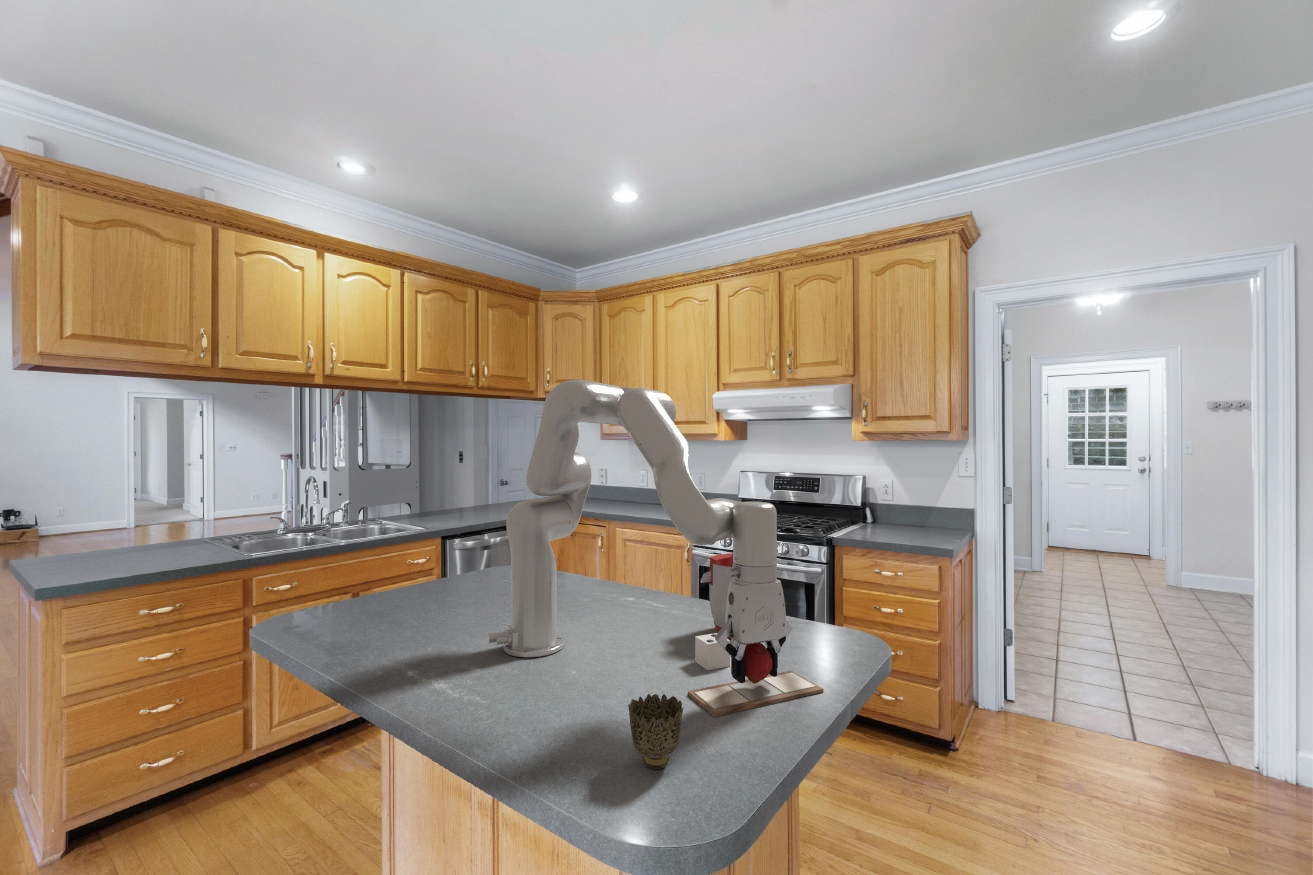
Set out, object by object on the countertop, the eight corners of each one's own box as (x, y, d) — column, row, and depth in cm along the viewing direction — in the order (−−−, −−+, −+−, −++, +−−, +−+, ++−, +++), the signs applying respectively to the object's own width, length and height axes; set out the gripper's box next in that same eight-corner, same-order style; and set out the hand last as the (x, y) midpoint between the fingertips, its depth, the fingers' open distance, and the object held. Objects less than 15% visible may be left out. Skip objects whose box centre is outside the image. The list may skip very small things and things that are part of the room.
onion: (775, 679, 102) (775, 634, 102) (767, 692, 96) (767, 644, 96) (743, 674, 104) (743, 629, 104) (733, 686, 99) (734, 639, 99)
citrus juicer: (699, 622, 141) (699, 540, 141) (770, 622, 140) (770, 540, 141) (702, 644, 125) (702, 551, 125) (782, 644, 125) (782, 552, 125)
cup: (627, 750, 81) (627, 693, 81) (679, 748, 82) (679, 691, 82) (629, 781, 74) (629, 718, 74) (686, 778, 74) (686, 715, 75)
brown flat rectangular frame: (714, 716, 91) (714, 711, 91) (687, 694, 100) (687, 690, 100) (823, 692, 101) (823, 687, 101) (791, 673, 109) (791, 669, 109)
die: (707, 670, 110) (707, 643, 110) (695, 661, 115) (695, 635, 115) (730, 666, 112) (729, 639, 113) (717, 657, 117) (716, 632, 117)
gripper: (723, 582, 93) (723, 694, 93) (808, 573, 101) (808, 676, 100) (700, 573, 100) (700, 677, 100) (782, 564, 107) (782, 662, 107)
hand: (754, 676), depth 100 cm, fingers closed on onion, 5 cm apart
